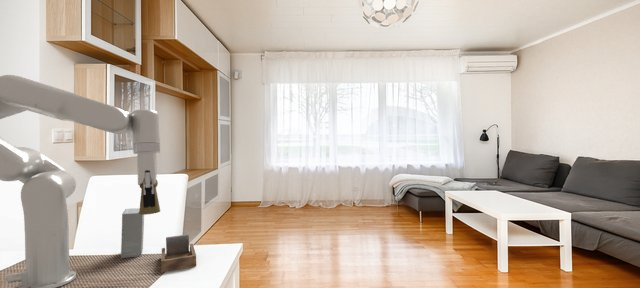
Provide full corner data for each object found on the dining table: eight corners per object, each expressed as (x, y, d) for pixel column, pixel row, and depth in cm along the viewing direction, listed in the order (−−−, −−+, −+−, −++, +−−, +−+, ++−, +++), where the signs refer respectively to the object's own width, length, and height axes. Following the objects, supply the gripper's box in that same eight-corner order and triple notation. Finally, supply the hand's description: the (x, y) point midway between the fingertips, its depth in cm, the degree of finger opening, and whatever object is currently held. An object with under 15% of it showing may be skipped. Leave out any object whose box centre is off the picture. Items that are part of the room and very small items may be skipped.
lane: (161, 272, 97) (161, 261, 97) (161, 257, 110) (161, 248, 110) (196, 266, 102) (196, 255, 102) (192, 252, 114) (192, 243, 114)
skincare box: (123, 252, 117) (122, 208, 117) (145, 249, 120) (144, 206, 120) (120, 259, 109) (119, 213, 109) (143, 256, 112) (143, 211, 112)
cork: (152, 214, 98) (150, 179, 98) (134, 214, 99) (132, 179, 99) (164, 210, 104) (163, 176, 104) (147, 210, 105) (146, 177, 105)
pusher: (166, 255, 109) (166, 238, 109) (166, 254, 110) (166, 237, 110) (189, 252, 112) (188, 235, 112) (188, 251, 113) (188, 234, 113)
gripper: (135, 149, 107) (138, 203, 107) (130, 149, 92) (134, 212, 92) (160, 148, 110) (162, 200, 111) (159, 148, 96) (162, 209, 96)
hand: (149, 205), depth 101 cm, fingers closed on cork, 3 cm apart
